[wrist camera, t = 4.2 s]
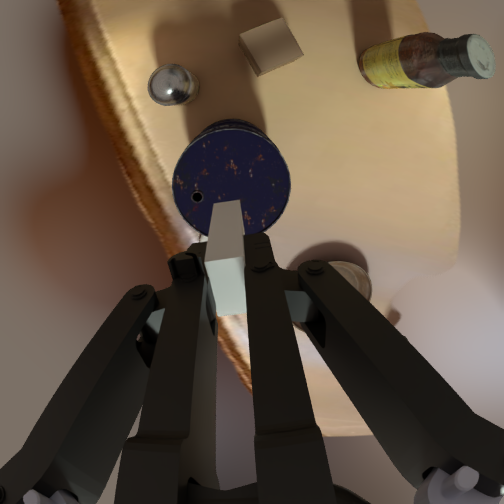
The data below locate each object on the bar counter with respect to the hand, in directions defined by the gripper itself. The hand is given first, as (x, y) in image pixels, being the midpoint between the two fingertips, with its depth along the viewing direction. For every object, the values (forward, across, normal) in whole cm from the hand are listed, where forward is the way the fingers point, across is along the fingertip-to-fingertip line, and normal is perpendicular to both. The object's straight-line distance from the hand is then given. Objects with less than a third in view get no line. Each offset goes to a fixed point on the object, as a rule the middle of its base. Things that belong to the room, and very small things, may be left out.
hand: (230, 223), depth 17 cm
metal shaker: (+22, -5, +10) cm, 25 cm away
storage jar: (+22, 0, 0) cm, 22 cm away
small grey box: (+22, +6, +13) cm, 26 cm away
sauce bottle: (+22, +21, +11) cm, 32 cm away
